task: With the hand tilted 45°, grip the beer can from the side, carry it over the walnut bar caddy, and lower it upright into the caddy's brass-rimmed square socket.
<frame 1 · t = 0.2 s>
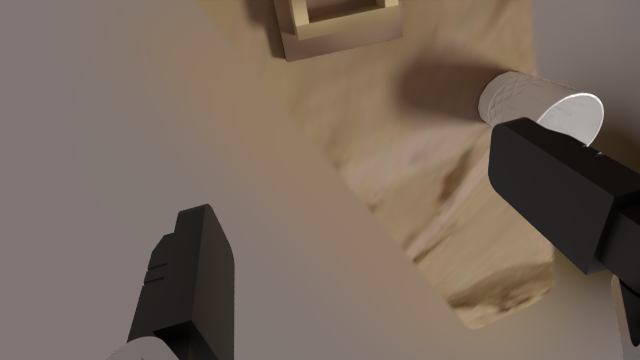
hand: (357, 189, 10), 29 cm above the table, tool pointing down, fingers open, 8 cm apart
white cup: (502, 97, 43), on the table
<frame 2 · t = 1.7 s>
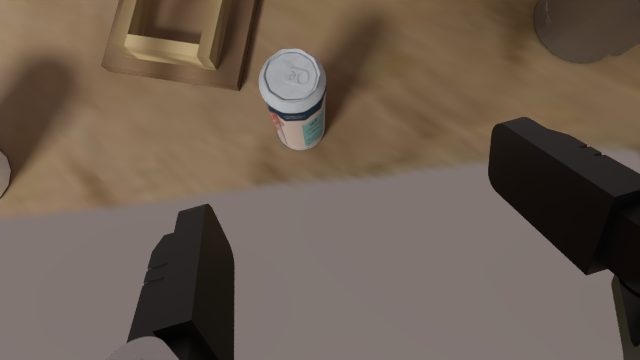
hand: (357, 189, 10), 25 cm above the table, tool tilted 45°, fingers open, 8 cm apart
beer can: (301, 129, 36), on the table
caddy: (186, 28, 38), on the table
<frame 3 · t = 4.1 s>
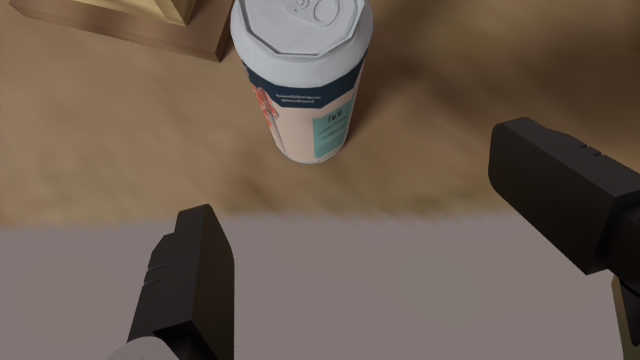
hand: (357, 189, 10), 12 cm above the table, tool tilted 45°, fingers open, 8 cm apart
beer can: (310, 130, 23), on the table
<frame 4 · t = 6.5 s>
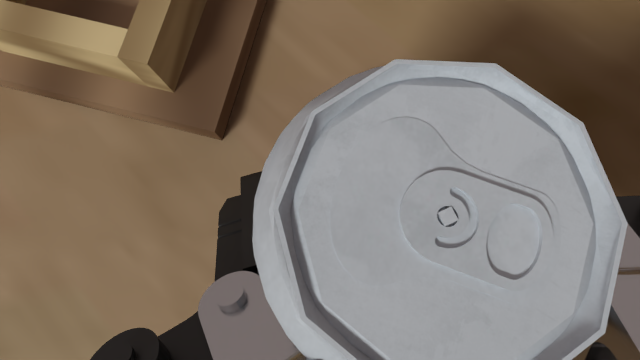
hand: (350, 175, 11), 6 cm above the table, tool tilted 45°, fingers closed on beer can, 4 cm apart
beer can: (351, 240, 16), on the table, touching gripper
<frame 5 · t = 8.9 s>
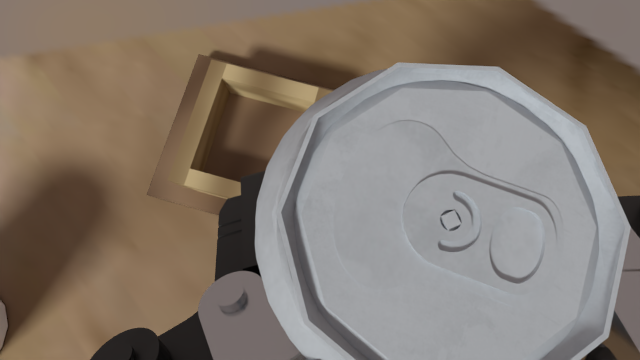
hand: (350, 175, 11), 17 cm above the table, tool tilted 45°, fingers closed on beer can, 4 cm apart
beer can: (352, 241, 16), point 12 cm above the table, touching gripper
caddy: (261, 149, 29), on the table
when the fingers open (8 cm above the table, at t = 11.6 s): beer can drops 1 cm, resting on caddy.
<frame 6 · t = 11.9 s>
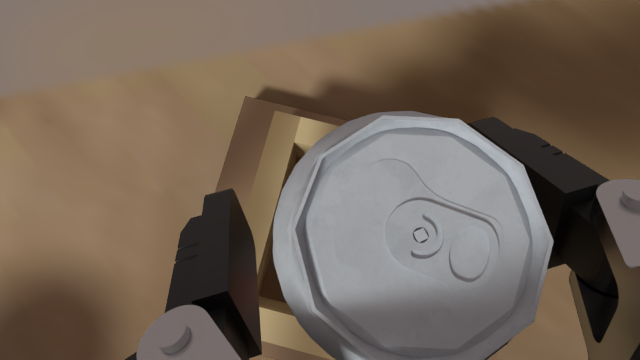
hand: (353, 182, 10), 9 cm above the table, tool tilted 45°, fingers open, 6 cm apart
beer can: (351, 245, 17), point 1 cm above the table, touching caddy
caddy: (346, 241, 18), on the table
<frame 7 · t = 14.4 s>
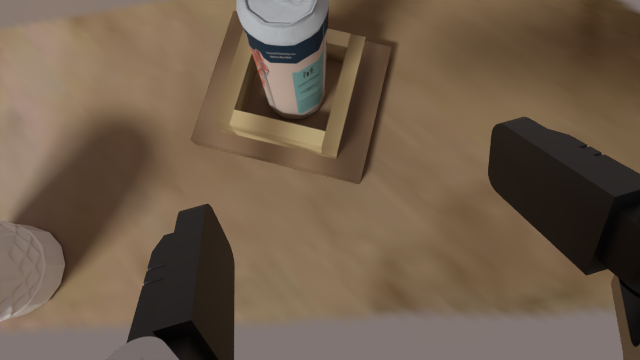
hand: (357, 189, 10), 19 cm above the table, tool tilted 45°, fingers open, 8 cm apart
white cup: (25, 269, 28), on the table
beer can: (296, 95, 29), point 1 cm above the table, touching caddy
caddy: (294, 98, 30), on the table
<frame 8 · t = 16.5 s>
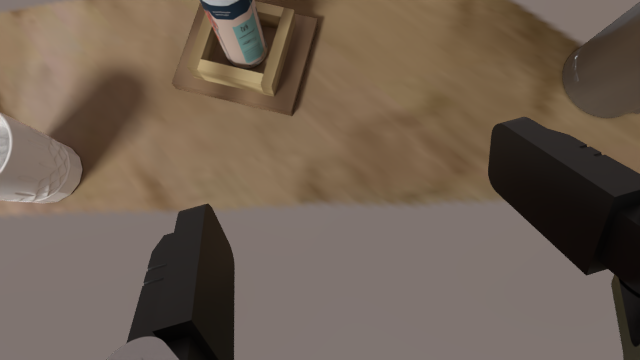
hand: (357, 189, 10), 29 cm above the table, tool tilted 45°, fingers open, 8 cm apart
white cup: (54, 173, 39), on the table
beer can: (247, 52, 41), point 1 cm above the table, touching caddy
caddy: (248, 55, 42), on the table
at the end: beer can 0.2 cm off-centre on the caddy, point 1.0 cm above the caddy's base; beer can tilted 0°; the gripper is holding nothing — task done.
